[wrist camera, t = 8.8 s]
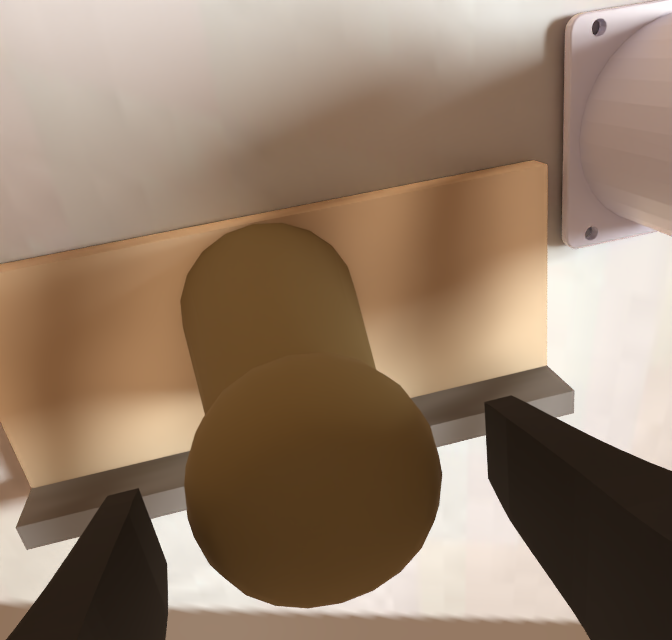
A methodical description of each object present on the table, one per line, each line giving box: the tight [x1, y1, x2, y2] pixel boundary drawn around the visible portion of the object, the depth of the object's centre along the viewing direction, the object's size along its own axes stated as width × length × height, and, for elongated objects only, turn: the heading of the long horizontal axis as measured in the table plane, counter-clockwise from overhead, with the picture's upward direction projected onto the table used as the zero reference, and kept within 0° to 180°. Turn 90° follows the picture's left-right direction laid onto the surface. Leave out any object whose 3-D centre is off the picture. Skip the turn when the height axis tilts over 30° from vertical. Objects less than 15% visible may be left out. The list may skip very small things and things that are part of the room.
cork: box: [180, 223, 442, 608], centre depth 16 cm, size 6×6×11 cm
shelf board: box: [0, 160, 574, 550], centre depth 21 cm, size 20×9×3 cm, turn 98°
